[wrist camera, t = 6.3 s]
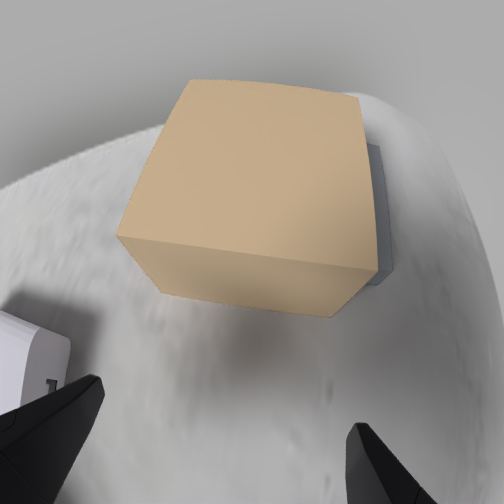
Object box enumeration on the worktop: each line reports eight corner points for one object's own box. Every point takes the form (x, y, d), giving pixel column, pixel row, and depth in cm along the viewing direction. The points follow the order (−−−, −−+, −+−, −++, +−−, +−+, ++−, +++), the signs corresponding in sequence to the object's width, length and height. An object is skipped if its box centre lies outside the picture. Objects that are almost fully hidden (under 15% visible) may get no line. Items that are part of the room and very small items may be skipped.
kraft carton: (329, 318, 18) (378, 271, 11) (162, 293, 19) (115, 235, 12) (333, 174, 24) (357, 97, 16) (202, 158, 24) (190, 79, 17)
